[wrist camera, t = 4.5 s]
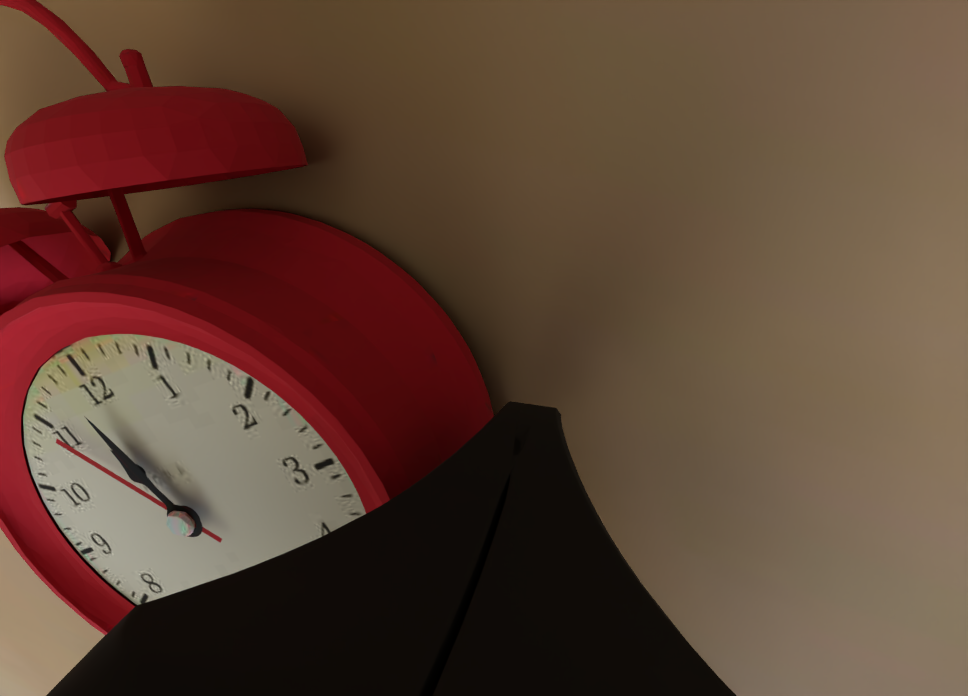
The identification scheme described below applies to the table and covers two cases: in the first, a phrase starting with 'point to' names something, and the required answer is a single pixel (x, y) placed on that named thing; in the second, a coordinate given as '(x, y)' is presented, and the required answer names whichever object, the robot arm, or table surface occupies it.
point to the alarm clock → (198, 353)
